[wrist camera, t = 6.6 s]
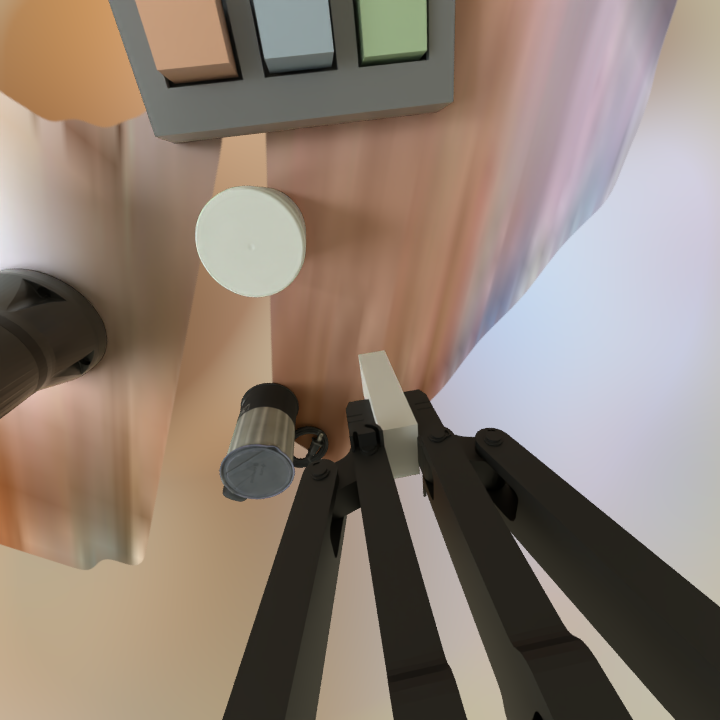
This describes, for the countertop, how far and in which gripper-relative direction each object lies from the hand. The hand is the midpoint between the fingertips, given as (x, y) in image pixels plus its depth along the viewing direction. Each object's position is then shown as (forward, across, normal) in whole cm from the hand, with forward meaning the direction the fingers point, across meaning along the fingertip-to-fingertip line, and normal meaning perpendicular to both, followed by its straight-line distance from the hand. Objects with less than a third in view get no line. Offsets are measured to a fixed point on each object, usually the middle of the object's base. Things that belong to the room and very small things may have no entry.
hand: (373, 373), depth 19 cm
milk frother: (+30, -12, -24) cm, 40 cm away
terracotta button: (+25, -10, +23) cm, 36 cm away
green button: (+28, +8, +23) cm, 37 cm away
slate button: (+25, -1, +23) cm, 34 cm away
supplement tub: (+30, -8, +6) cm, 31 cm away
